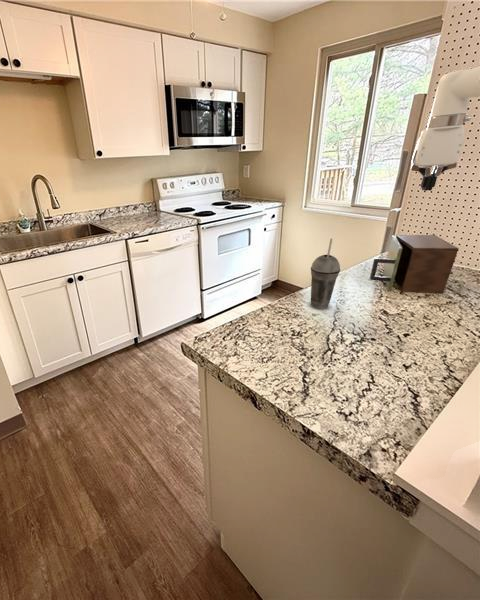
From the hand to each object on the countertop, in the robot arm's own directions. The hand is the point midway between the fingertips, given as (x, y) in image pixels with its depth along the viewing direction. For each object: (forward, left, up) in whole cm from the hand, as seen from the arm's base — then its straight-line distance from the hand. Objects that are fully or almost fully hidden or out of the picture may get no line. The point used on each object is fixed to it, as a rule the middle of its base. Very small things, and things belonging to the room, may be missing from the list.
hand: (426, 189), depth 96 cm
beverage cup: (+30, +32, -27) cm, 52 cm away
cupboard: (+1, +11, -27) cm, 29 cm away
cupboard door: (+10, +10, -27) cm, 31 cm away
